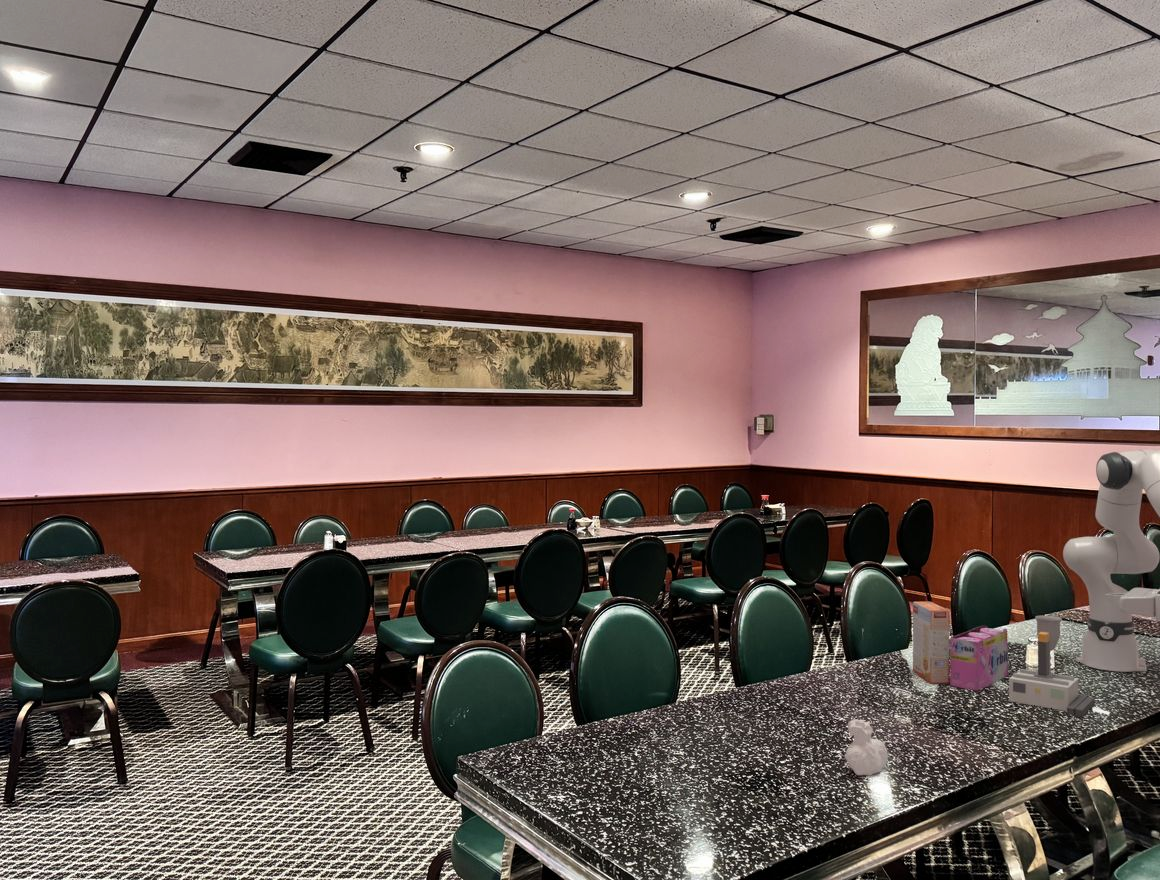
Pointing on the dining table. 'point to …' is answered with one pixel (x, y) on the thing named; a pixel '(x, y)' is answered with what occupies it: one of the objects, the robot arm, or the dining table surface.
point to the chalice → (1049, 631)
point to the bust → (865, 750)
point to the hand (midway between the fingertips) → (1105, 596)
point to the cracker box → (931, 642)
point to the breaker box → (1043, 690)
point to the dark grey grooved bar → (1081, 705)
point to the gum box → (978, 658)
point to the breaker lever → (1043, 656)
